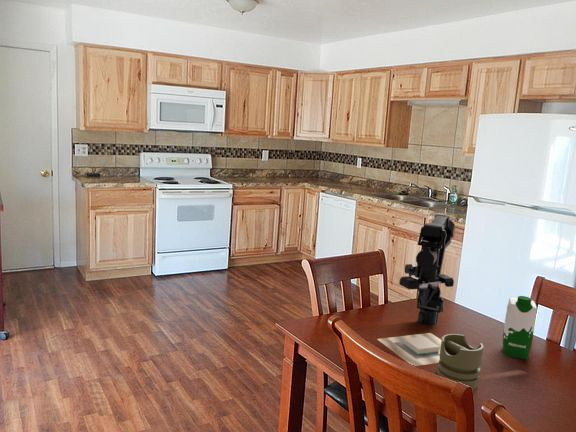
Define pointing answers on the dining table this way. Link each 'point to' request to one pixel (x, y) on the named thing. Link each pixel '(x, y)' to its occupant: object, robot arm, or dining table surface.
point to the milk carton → (519, 327)
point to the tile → (421, 345)
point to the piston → (460, 360)
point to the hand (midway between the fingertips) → (423, 305)
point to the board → (409, 355)
